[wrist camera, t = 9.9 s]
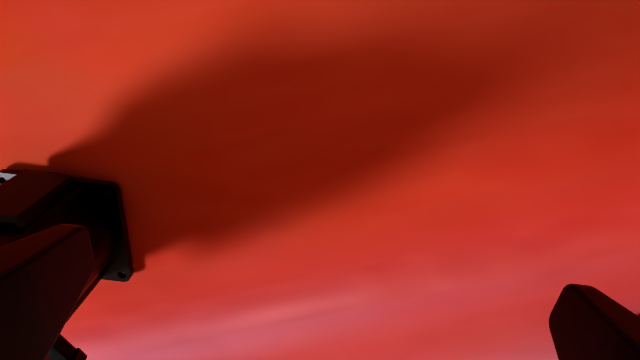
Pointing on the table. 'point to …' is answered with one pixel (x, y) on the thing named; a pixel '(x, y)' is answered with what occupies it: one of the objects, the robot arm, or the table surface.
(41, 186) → the robot arm
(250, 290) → the table surface
